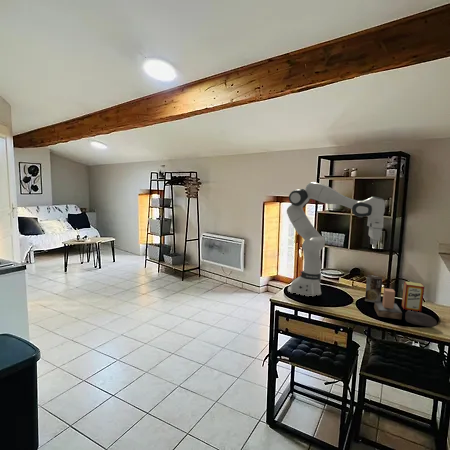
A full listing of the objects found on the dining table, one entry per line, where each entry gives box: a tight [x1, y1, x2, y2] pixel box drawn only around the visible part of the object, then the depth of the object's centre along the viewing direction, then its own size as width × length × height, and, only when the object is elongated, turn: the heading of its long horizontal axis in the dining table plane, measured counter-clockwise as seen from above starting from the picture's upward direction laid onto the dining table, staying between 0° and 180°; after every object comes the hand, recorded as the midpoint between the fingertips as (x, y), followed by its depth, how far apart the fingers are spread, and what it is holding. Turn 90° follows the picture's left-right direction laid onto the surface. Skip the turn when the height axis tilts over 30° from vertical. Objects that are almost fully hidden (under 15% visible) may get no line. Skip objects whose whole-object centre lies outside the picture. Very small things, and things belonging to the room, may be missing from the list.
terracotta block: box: [381, 287, 396, 309], centre depth 189 cm, size 5×5×10 cm
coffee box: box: [364, 274, 384, 303], centre depth 209 cm, size 9×6×16 cm
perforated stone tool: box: [404, 310, 438, 328], centre depth 176 cm, size 15×5×7 cm, turn 61°
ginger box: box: [401, 281, 425, 313], centre depth 198 cm, size 10×6×16 cm
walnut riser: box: [373, 301, 403, 320], centre depth 190 cm, size 12×14×4 cm
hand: (373, 245), depth 200 cm, fingers open, 8 cm apart
